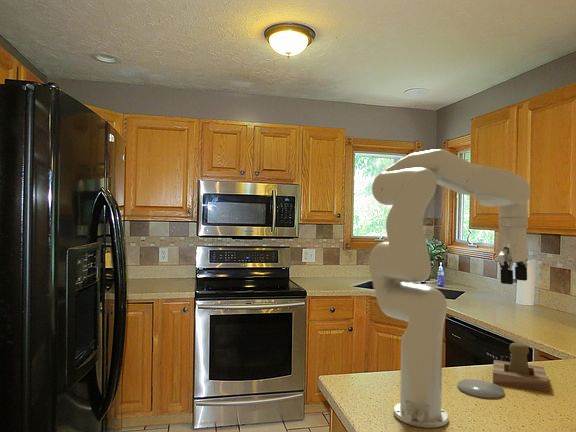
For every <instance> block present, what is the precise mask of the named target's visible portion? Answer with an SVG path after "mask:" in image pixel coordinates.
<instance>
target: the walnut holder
mask: <svg viewBox="0 0 576 432" xmlns="http://www.w3.org/2000/svg"><path fill="white" fill-rule="evenodd" d="M509 366H510V361H506V360H505V361H503V360H497V359H493V367H492V383H493V384H496V385H505V386H508V387H509V386H510V387H516V388H522V389H527V390H534V391H539V392H546V393H548V391H549V380H548V377H547V373H546V369H545V367H544V366H541V365H540V366H539V365H532V364H528V369H529V375H524V374H518V373H511V372H509Z"/></svg>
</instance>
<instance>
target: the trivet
mask: <svg viewBox="0 0 576 432" xmlns="http://www.w3.org/2000/svg"><path fill="white" fill-rule="evenodd" d="M457 389H458V390H459V391H461V392H462V393H464V394H466V395H469V396H471V397H476V398H480V399H481V398H482V399H492V400H493V399H500V398H503V397H504V395H505V390H504V388H503V387H502V386H500V385H499V384H497V383H493V382H490V381H486V380H480V379H472V378H471V379H462V380H459V381H458V382H457Z"/></svg>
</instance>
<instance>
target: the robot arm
mask: <svg viewBox="0 0 576 432" xmlns="http://www.w3.org/2000/svg"><path fill="white" fill-rule="evenodd" d="M437 185H438V186H441V187H443V188H446V189H449V190H450V191H453V192H454V193H457V194H460V195H466V196H474V200H475V201H476V203H478V204H479V205H481V206H483V207H486V208H487V207H490V208H491V207H494V208H495V207H498V230H499V231H498V236H497V237H498V238H497V261H498V264H499V270H500V283H501V284H504V285H514V279H515V280H516V281H527V280H528V254H529V252H528V239H527V238H528V235H527V229H529V222H528V221H529V218H528V217H529V216H528V215H529V214H528V212H529V211H528V202H529V200H530V198H531V193H532V190H531V186H530V184H529V182H528V181H527V179H525V178H524V177H522V176H521V175H519V174H517V173H515V172H513V171H510V170H506V169H503V168H496V167H491V166H487V165H481V164H475V163H472V162H470V161H469V160H466V159H465V158H462V157H460V156H459V155H457V154H454V153H452V152H450V151H448V150H446V149H442V148H438V149H430V150H424V151H419V152H412V153H410V154H408V155H406V156H404V157H402V158H400V159H399V160H398V161H396V162H395V163H393V164H392V165H390V166H389V167H387V168H386V169H384V170H383V171H381V172H380V173H378V174H377V176H376V177H375V178H374V180H373V182H372V186H371V191H372V196H373V198H374V199H375V200H376V201H377V202H378V203H380V204H382V205H385V206H391V208H390V209H389V212H388V214H387V216H386V222H385V231H386V232H385V233H386V235H387V236H386V237H387V241H382V242H380V243H378V244H376V245H375V246H374V247H373V248H372V250H371V252H370V254H369V259H368V267H369V273H370V276H371V281H372V285H373V289H374V293H375V297H376V300H377V301H376V302H377V304H378V306H379V308H380V311H381V312H383V314H385V316H388V317H390V318H392V319H396V320H400V321H404V322H406V323H408V324H407V327H406V329H405V330H404V332H403V333H402V336H401V340H400V386H399V387H400V393H399V395H400V398H399V400H400V401H399V403H398V402H397V404H395V405H394V407H393V415H394V416H395V417H396V418H397V420H399V421H400V422H403V423H405V424H408V425H410V426H414V427H418V428H424V429H427V428H428V429H433V428H434V429H436V428H440V427H443V426H445V425H447V423H449V414H448V412H447V411H446V410H444V409H443V407H442V385H443V383H442V381H443V380H442V376H443V373H442V372H443V371H442V369H443V368H442V367H443V364H442V363H443V362H442V361H443V356H442V355H443V332H444V326H445V320H446V316H447V310H448V302H447V299H446V297H445V295H444V293H442V292H441V291H440V290H439V289H438V288H435V287H432V286H430V285H425V284H419V283H422V282H424V281H426V280H428V279H429V278H430V275H431V273H432V263H431V258H430V254H429V249H428V244H427V240H426V236H425V235H426V234H425V230H424V224H423V223H424V215H425V212H426V209H427V207H428V205H429V203H430V202H431V200H432V198H433V197H434V195H435V193H436V190H437ZM514 264H515V265H516V266H514V270H513V265H514Z"/></svg>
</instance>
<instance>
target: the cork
mask: <svg viewBox="0 0 576 432" xmlns="http://www.w3.org/2000/svg"><path fill="white" fill-rule="evenodd" d="M509 353H510V361H509V362H510V366H509V372H511V373H518V374H524V375H529V369H528V365H529V362H528V354H529V353H530V349H529V346H528V345H527V344H525V343H522V342H512V343H510V345H509Z"/></svg>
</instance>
